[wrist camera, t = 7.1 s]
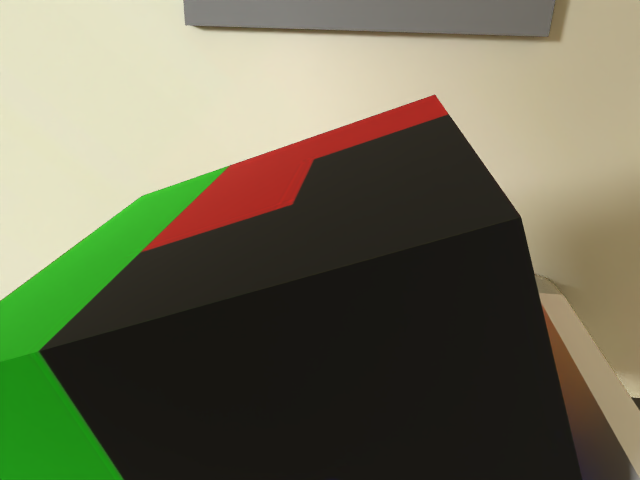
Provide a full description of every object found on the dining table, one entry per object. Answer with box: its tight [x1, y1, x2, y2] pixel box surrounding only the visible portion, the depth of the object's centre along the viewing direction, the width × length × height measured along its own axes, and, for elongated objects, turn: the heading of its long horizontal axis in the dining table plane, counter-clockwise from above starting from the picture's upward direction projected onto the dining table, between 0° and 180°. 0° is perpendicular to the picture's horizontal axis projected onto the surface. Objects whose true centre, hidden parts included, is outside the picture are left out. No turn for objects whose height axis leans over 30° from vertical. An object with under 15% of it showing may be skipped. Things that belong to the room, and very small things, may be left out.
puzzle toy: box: [0, 95, 582, 480], centre depth 13 cm, size 10×10×10 cm
